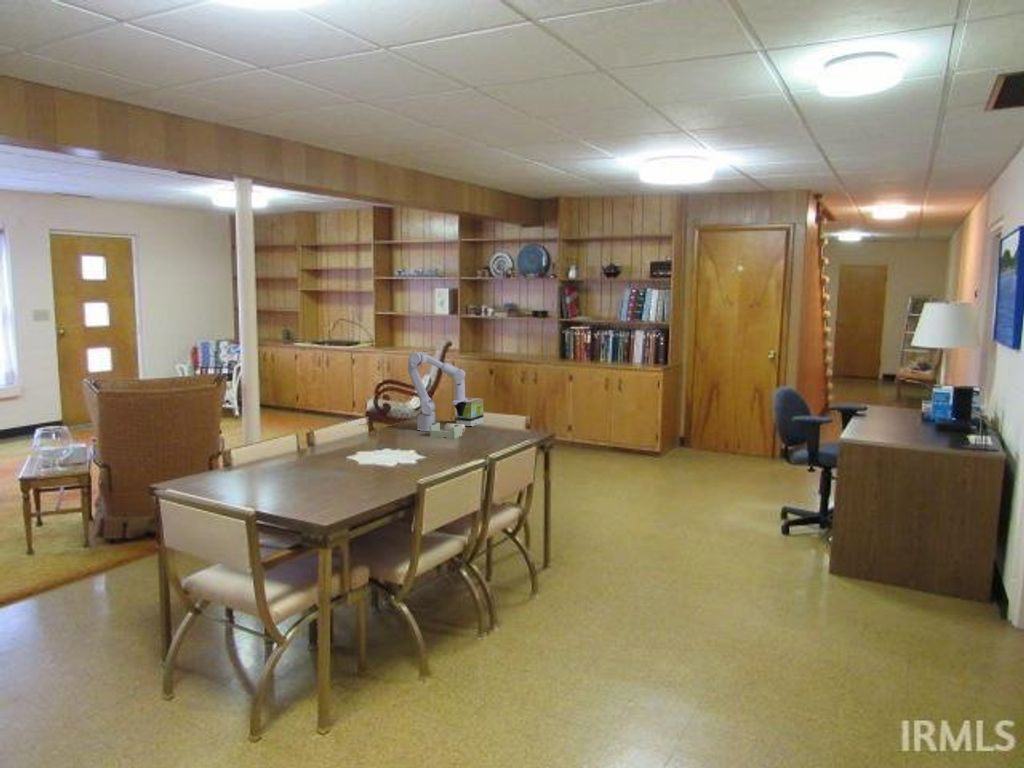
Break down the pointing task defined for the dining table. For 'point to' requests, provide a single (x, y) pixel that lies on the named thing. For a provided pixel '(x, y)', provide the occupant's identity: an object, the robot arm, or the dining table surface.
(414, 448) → the dining table surface
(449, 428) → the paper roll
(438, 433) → the roll cradle
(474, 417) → the tea box
